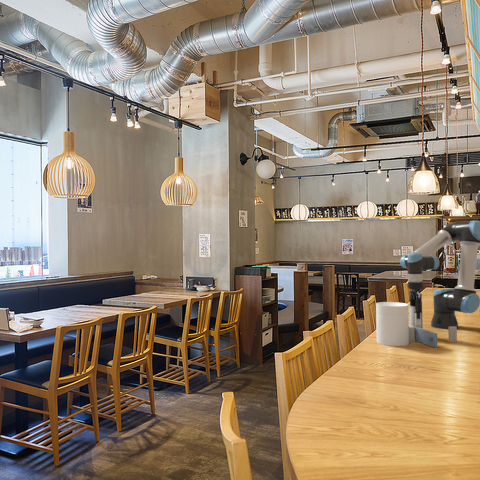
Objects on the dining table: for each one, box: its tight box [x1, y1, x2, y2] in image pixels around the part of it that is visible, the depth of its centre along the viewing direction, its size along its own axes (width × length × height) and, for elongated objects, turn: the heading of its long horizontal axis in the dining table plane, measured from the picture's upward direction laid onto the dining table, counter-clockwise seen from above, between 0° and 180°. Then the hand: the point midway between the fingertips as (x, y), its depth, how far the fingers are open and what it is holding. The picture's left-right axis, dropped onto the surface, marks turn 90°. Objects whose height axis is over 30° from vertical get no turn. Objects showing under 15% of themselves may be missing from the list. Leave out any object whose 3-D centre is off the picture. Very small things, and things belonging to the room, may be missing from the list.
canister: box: [375, 301, 410, 347], centre depth 231 cm, size 16×16×20 cm
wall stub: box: [447, 327, 458, 343], centre depth 232 cm, size 4×2×8 cm, turn 85°
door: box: [414, 326, 438, 348], centre depth 226 cm, size 17×3×7 cm, turn 13°
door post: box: [409, 325, 415, 343], centre depth 234 cm, size 3×3×8 cm
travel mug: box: [408, 299, 424, 329], centre depth 244 cm, size 6×7×20 cm
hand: (416, 323), depth 244 cm, fingers closed on travel mug, 6 cm apart
